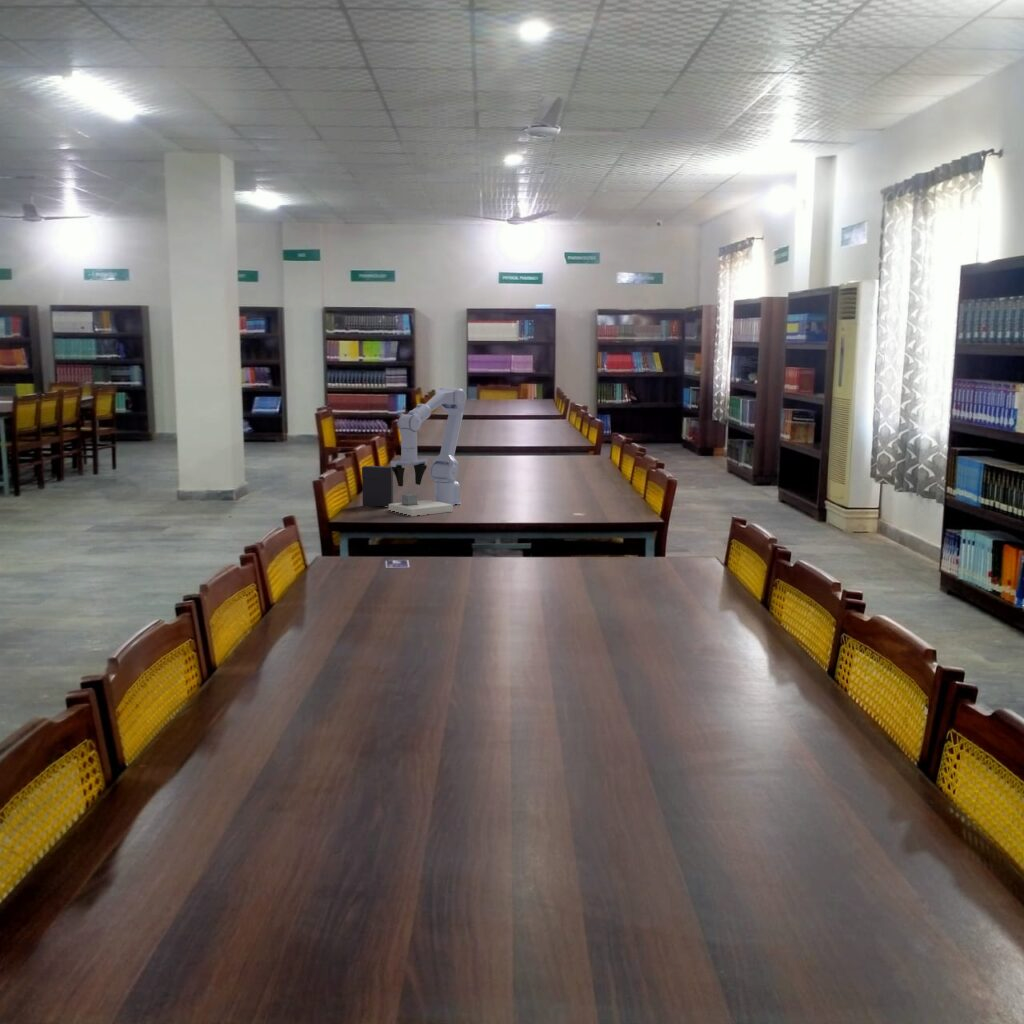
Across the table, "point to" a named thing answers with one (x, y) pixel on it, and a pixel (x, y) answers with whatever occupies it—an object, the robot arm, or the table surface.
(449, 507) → the slot board
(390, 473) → the dark grey rectangular block
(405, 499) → the pin
